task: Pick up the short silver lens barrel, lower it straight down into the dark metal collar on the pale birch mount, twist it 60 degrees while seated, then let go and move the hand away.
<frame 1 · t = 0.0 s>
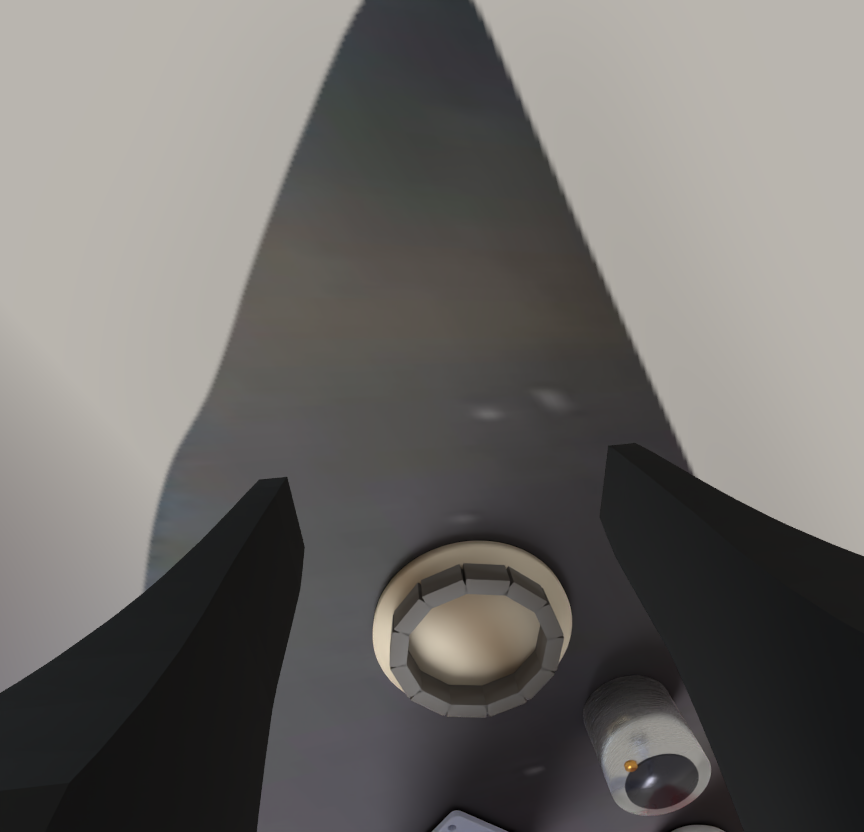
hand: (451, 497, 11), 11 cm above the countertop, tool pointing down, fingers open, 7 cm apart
mount: (471, 625, 26), on the countertop
lens: (626, 708, 28), on the countertop
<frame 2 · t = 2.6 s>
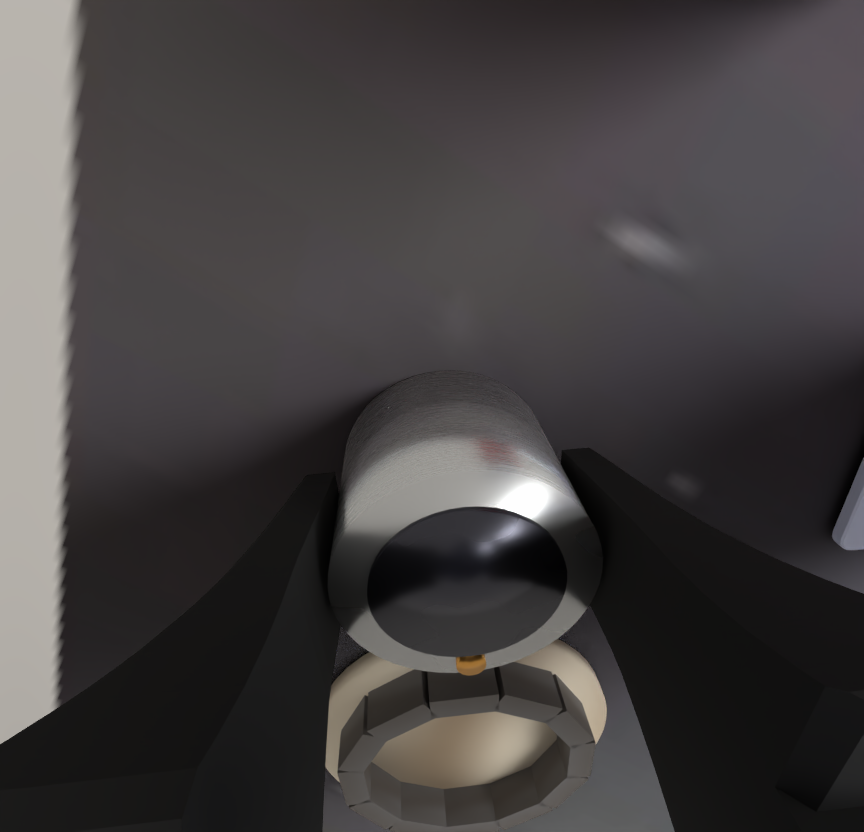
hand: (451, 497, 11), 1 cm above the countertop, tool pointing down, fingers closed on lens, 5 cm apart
mount: (461, 719, 18), on the countertop
lens: (445, 462, 13), on the countertop, touching gripper
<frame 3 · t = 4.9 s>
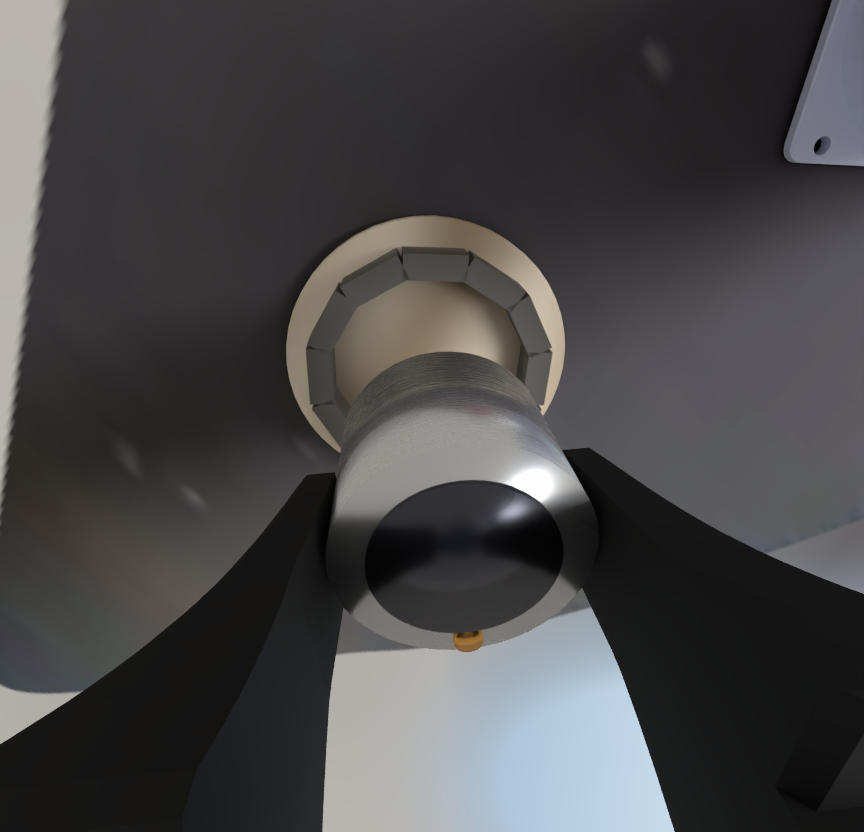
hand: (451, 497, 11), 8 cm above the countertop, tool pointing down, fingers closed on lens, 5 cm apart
mount: (427, 358, 19), on the countertop
lens: (443, 444, 13), point 7 cm above the countertop, touching gripper
when the fingers open (3 cm above the countertop, at t = 7.4 s): lens stays where it is, resting on mount.
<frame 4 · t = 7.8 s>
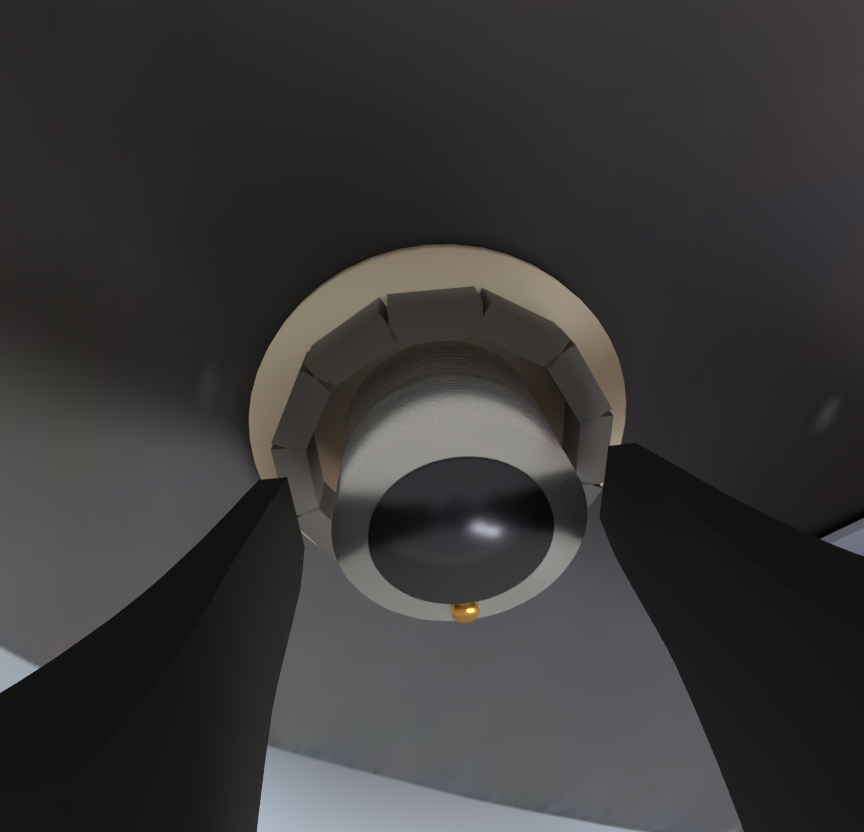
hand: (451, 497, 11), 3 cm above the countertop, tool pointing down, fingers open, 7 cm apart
mount: (439, 430, 14), on the countertop
lens: (441, 430, 13), point 1 cm above the countertop, touching mount
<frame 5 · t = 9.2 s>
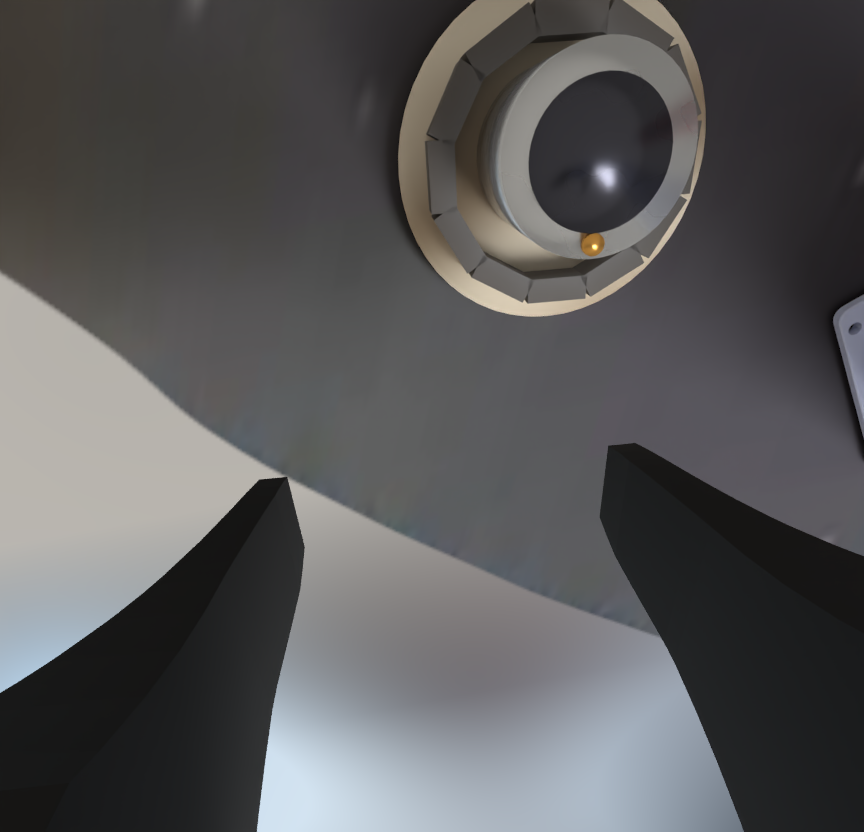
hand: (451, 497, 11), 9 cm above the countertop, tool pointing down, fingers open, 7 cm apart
mount: (547, 165, 17), on the countertop
lens: (553, 154, 16), point 1 cm above the countertop, touching mount
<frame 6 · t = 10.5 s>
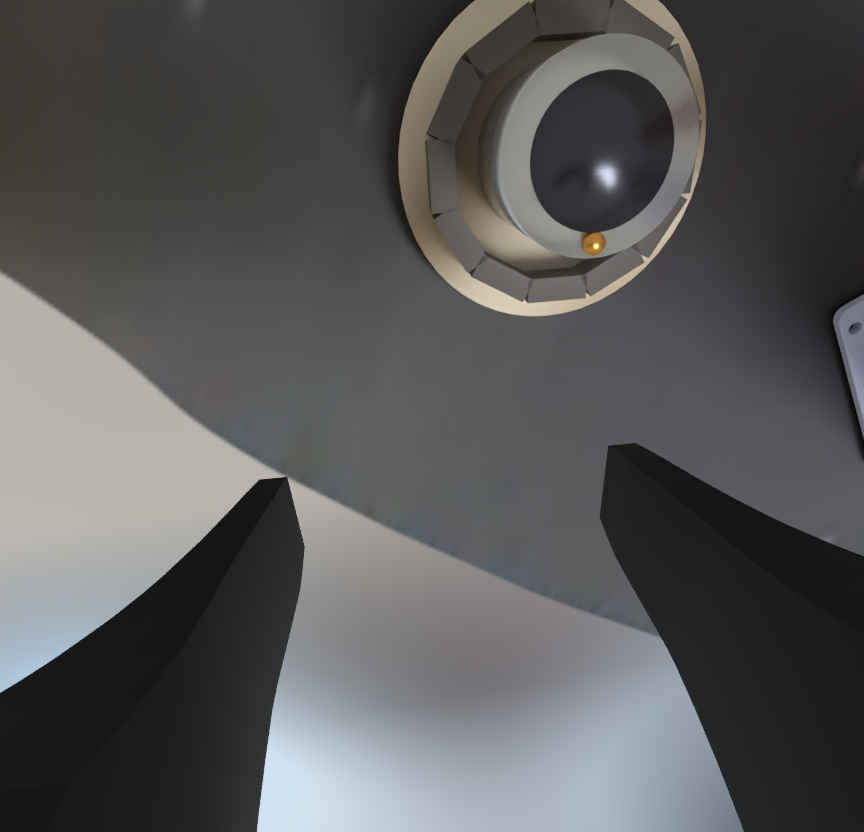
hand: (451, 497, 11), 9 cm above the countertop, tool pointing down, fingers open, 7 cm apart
mount: (547, 165, 17), on the countertop
lens: (554, 153, 16), point 1 cm above the countertop, touching mount
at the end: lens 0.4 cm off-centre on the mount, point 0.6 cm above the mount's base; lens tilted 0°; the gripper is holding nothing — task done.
